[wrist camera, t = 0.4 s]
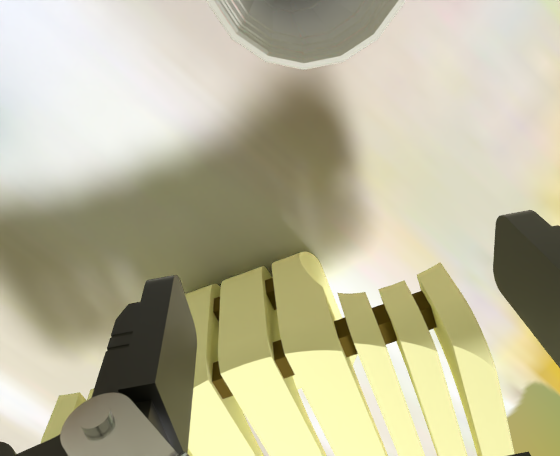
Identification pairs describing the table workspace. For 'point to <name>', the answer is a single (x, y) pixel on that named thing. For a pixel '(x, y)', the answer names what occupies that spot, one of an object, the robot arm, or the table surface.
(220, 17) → the plastic cup
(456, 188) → the table surface
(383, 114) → the table surface
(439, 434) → the slatted curved stool
